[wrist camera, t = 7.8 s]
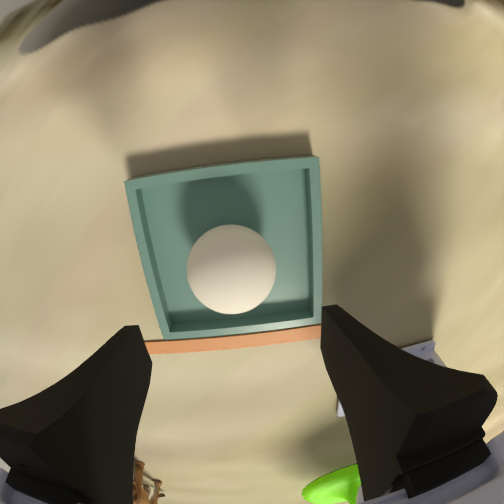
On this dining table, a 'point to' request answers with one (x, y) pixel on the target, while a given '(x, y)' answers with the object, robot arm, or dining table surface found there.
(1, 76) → the dining table surface
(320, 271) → the tray
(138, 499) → the lion figurine
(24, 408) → the robot arm
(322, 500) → the wineglass
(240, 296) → the ball
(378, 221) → the dining table surface
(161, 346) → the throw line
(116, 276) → the dining table surface
